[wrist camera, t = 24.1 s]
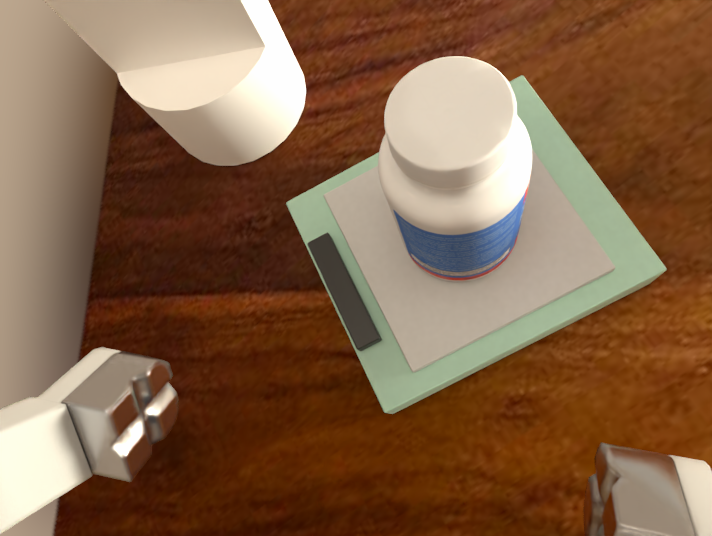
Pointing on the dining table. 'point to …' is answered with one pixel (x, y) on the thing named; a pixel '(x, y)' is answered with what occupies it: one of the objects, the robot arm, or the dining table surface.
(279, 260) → the dining table surface
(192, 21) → the base with upright slab
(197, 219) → the dining table surface
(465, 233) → the pill bottle
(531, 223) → the scale
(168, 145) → the dining table surface
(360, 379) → the dining table surface
